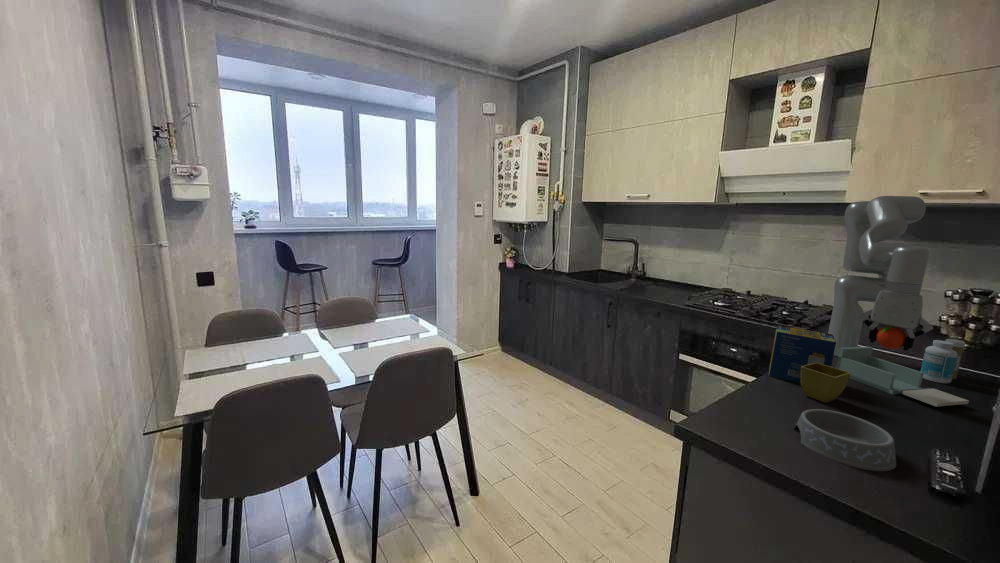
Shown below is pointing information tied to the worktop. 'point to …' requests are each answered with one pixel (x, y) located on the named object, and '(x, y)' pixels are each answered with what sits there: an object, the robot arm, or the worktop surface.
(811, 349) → the protein box
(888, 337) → the clementine
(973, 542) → the worktop surface
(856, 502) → the worktop surface
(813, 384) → the flower pot
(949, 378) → the pill bottle
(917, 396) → the panel
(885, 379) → the grey-green open bin
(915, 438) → the worktop surface
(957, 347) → the sprinkles bottle
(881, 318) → the robot arm
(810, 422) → the dog bowl
